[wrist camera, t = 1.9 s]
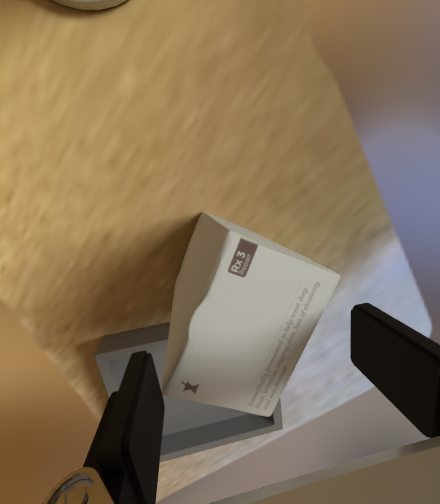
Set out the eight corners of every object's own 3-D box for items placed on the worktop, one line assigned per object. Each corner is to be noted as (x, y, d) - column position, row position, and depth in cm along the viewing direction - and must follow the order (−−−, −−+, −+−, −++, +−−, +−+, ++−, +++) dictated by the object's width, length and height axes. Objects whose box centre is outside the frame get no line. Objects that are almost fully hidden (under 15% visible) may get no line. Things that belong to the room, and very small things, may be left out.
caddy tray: (104, 336, 25) (93, 355, 22) (263, 302, 27) (273, 316, 24) (139, 441, 29) (134, 469, 26) (273, 406, 31) (282, 428, 28)
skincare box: (223, 296, 26) (273, 427, 11) (171, 279, 24) (155, 407, 10) (253, 226, 24) (354, 280, 10) (200, 205, 23) (228, 231, 8)
